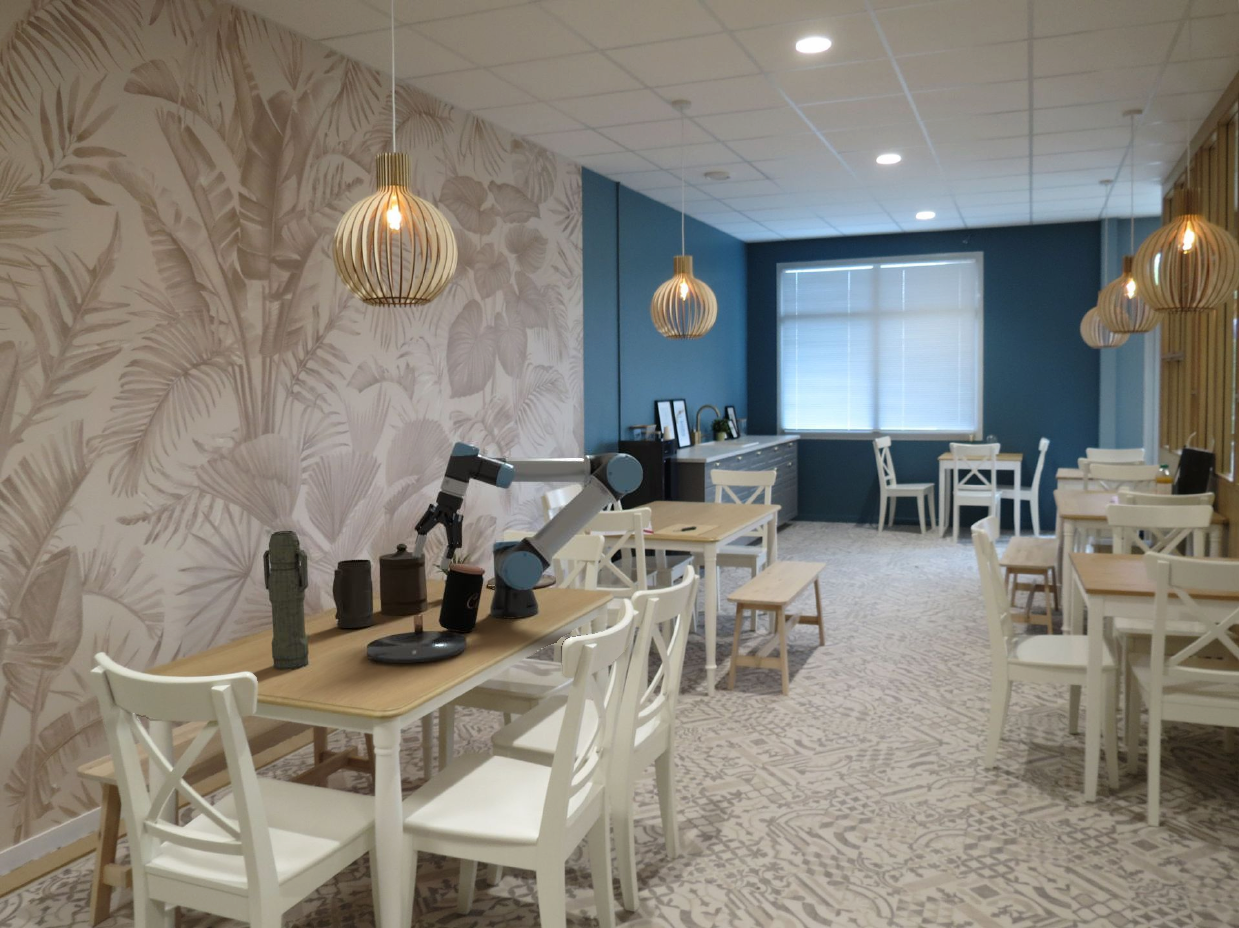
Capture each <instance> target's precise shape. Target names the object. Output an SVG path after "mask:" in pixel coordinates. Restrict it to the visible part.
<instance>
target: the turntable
mask: <svg viewBox="0 0 1239 928" xmlns="http://www.w3.org/2000/svg"><path fill="white" fill-rule="evenodd" d="M423 623H424V622H423V614H422V613H417V614H413V630H414V631H410V632H402V633H397V634H391V635H386V636H382V637H380V638H377V639H375V640H372V641H371V642H369V643H368V644H367V645H366V656H367V657H368V658H369V659H370V660H373V661H377V662H381V663H389V664H390V663H391V664H392V663H394V664H404V663H405V664H409V663H412V664H413V663H420V662H422V663H423V662H430V661H436V660H441V659H446V658H448V657H453V656H454V655H458V654H460V653H462V652H463V651H464V650H465V649H466V647H467V639H466V638H467V637H465V636H464V635H462V634H461V633H458V632H452V631H443V630H442V631H441V630H440V631H439V630H425V631H424V624H423Z"/></svg>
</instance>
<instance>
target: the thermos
mask: <svg viewBox="0 0 1239 928" xmlns="http://www.w3.org/2000/svg"><path fill="white" fill-rule="evenodd" d="M300 544H301V542H300V539H299V537H298V534H297V532H295V531H293V530H280V531H279V530H278V531H275V532H273V533H271V535H270V538H269V541H268V549H267V550H265V551H264V553H263V555H262V556H263V558H262V560H263V576H264V586H265V590H268V599H269V602H270V603H271V616H272V618H271V619H272V620H271V621H272V633H273V634H272V635H273V636H272V641H271V655H272V659H273V669H275V670H277V671H278V670H279V671H288V670H289V669H291V670H296V669H295V668H298V669H301V667H302V668H304V667H307V666H308V665H309V664H308V663H309V639H308V636H307V633H306V621H305V608H304V607H305V603H304V601H305V599H306V589H308V588H309V578H308V573H309V572H308V554H307V553H306V551H305V550H304V549H301V545H300ZM306 665H307V666H306ZM303 666H304V667H303ZM289 671H290V670H289Z"/></svg>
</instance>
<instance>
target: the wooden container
mask: <svg viewBox="0 0 1239 928" xmlns="http://www.w3.org/2000/svg"><path fill="white" fill-rule="evenodd" d="M395 548H396V551H395V552H394V553H388V554H383V555H380V556H379V558H378V559H379V562H378V563H379V595H380V596H379V597H380V598H379V599H380V612H381V614H383V615H386V616H409V615H410V614H411V615H416V614H422V613H423V612H426V611H427V610H428V588H427V587H428V586H427V577H426V555H425V553H424V552H422V554H421V557H416V556H412V554H413V551H412V552H410V551H408V550H407V549H408V545H407V544H405V543H398V544H397V545H396V547H395Z"/></svg>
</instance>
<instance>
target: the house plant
mask: <svg viewBox="0 0 1239 928" xmlns="http://www.w3.org/2000/svg"><path fill="white" fill-rule="evenodd" d="M473 554H475V552H473V553H469V554H467V555H466V556H465V553H464V554H462V555H461V556H458V558H457V554H456V552H454V555H453V558H452V560H451V562H450V564H465V565H466V563H467V562H468V559H469V558H470V556H471V555H473ZM462 556H465V557H464V558H463V559H461V558H462ZM438 557H439V558H440V559H442V558H443V556H441V555H440V556H438ZM456 558H457V559H456ZM431 565H432V566H435V567H436V568H438V569H439V570H437V571H436V572H435V573H436V574H438V573H441V572H443V574H445V575H446V576H447V573H448V572H449V571H450V568H448V570H445V569H440V568H439V567H440V564H431ZM445 584H446V579H444V585H445Z"/></svg>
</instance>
